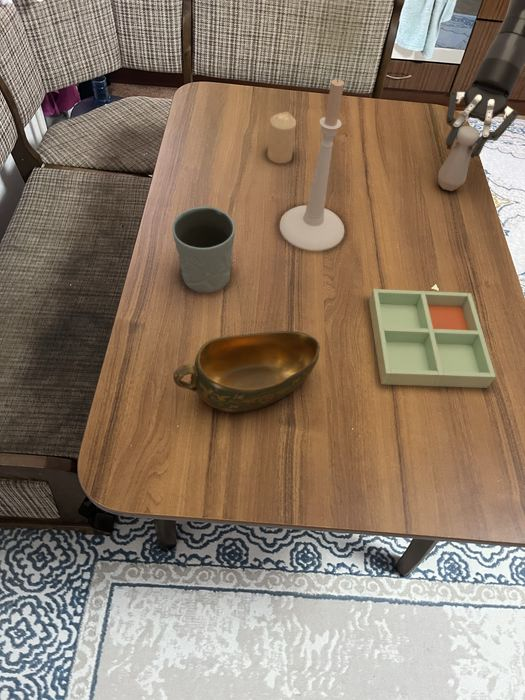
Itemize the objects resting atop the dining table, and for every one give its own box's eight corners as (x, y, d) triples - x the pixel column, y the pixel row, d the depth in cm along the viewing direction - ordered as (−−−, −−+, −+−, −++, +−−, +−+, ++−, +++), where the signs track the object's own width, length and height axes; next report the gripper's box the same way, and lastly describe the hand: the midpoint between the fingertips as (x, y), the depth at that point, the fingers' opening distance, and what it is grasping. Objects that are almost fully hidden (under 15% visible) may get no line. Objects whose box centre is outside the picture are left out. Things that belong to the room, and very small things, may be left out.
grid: (463, 306, 96) (471, 292, 93) (486, 388, 86) (496, 377, 83) (368, 302, 95) (373, 288, 92) (380, 385, 85) (386, 373, 82)
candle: (277, 146, 120) (281, 104, 112) (296, 156, 119) (302, 114, 110) (262, 157, 118) (265, 114, 110) (281, 167, 116) (286, 125, 108)
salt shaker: (460, 177, 116) (483, 123, 106) (463, 194, 113) (487, 139, 102) (433, 175, 116) (454, 120, 106) (436, 191, 113) (457, 136, 102)
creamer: (194, 345, 88) (190, 305, 79) (314, 364, 87) (323, 326, 79) (175, 413, 80) (169, 377, 72) (306, 434, 79) (316, 401, 71)
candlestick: (334, 259, 101) (370, 110, 76) (270, 241, 103) (285, 90, 78) (350, 217, 108) (387, 69, 84) (290, 201, 110) (309, 51, 85)
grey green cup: (240, 264, 99) (242, 213, 89) (223, 304, 93) (223, 254, 83) (189, 251, 100) (185, 200, 90) (169, 290, 94) (162, 239, 84)
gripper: (467, 46, 101) (426, 135, 105) (542, 69, 97) (496, 160, 101) (465, 63, 108) (427, 145, 112) (535, 85, 104) (493, 169, 108)
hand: (460, 152), depth 106 cm, fingers closed on salt shaker, 4 cm apart
